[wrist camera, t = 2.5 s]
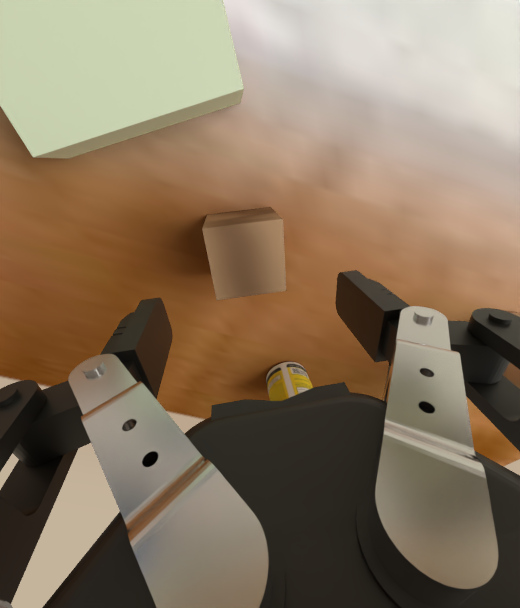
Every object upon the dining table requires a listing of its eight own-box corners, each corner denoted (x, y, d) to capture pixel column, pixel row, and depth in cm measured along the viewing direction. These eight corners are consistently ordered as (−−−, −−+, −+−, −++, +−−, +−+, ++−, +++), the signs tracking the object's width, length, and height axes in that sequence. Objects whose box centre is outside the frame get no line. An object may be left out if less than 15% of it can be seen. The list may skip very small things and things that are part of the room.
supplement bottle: (270, 394, 30) (284, 468, 23) (261, 366, 28) (275, 438, 21) (308, 384, 30) (335, 455, 23) (303, 355, 28) (331, 423, 21)
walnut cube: (270, 207, 20) (283, 219, 16) (274, 266, 22) (286, 290, 18) (207, 214, 20) (202, 228, 15) (218, 273, 22) (216, 300, 18)
